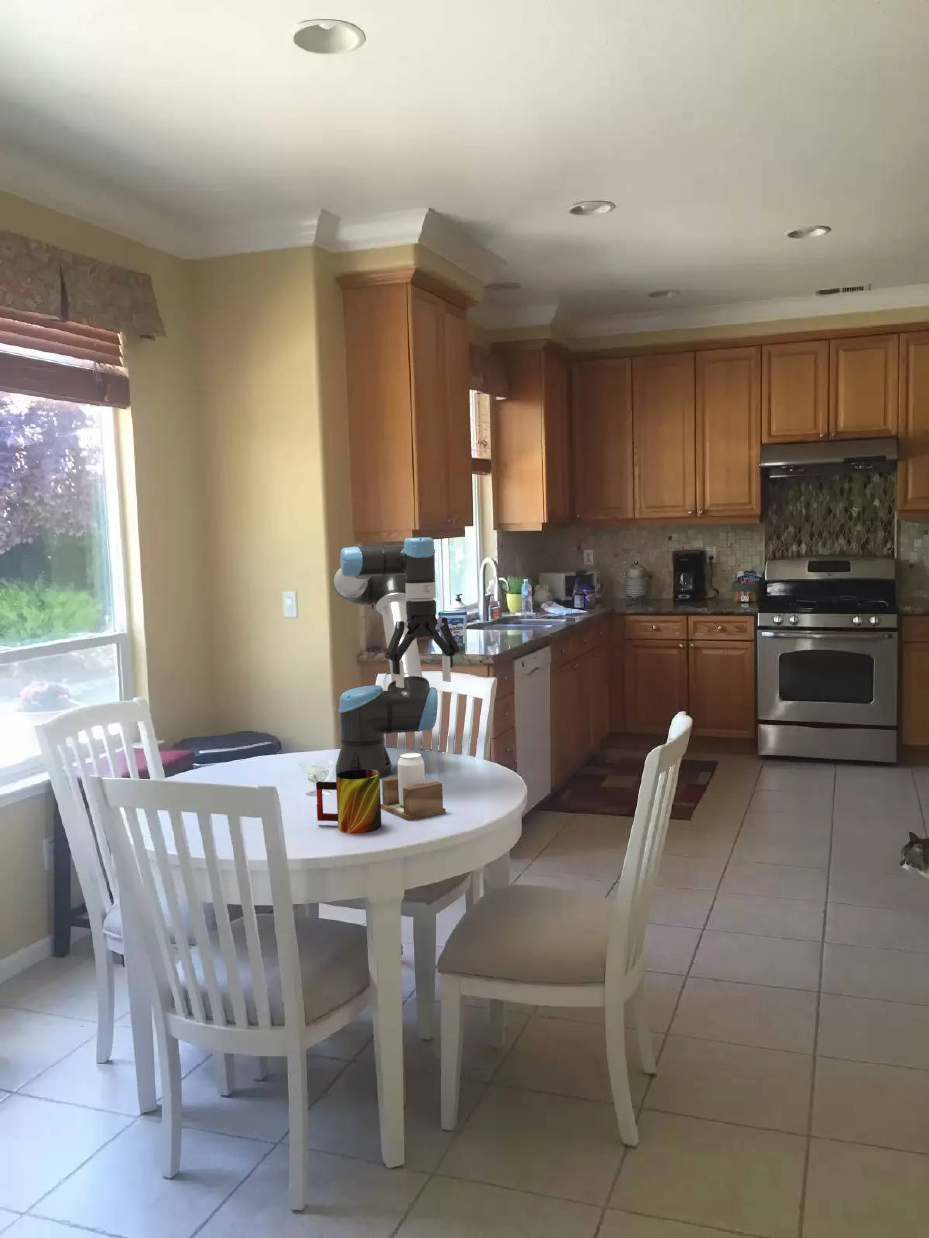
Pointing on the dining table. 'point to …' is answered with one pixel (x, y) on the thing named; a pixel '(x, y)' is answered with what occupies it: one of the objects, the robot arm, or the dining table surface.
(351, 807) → the mug
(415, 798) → the post bracket
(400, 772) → the beverage can
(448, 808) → the dining table surface
